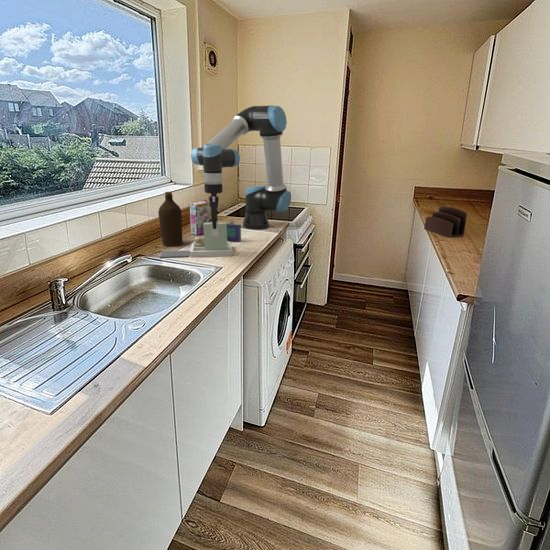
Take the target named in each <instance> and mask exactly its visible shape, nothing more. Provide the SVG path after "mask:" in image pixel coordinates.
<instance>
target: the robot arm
mask: <svg viewBox="0 0 550 550" xmlns="http://www.w3.org/2000/svg"><path fill="white" fill-rule="evenodd" d="M287 125H288V122H287V115H286V113H285V111H284V109H283V108H282V107H281V106H279V105H272V104H271V105H252V106H250V107H247V108H245V109H242V110H241V111H240V112H239V113H237V114H236V115H235V116H233V117H232V120H231V122H230V123H229V124H227V125H226V126H225V127H224V128H223V129H222V130H221V131H219V132H218V133H217V134H216V135H215V136H213V138H211V139H210V140H209V141H207V142H206V143H205V144H204V145H203V146H202V147H199V146H198V147H194V148H193V149H192V150H191V152H190V159H191V162H192V163H193V164H194V165H197V166H202V167H203V175H202V177H203V178H204V179H203V180H204V181H203V182H204V192H205V194H210V196H209V197H208V202H210V223H211V231H212V236H218V223H219V218H218V217H219V214H220V212H219V211H218V207H219V196H217V195H218V194H221V193H223V190H224V189H223V168H234V167H237V166H239V164H240V161H241V155H240V153H239V151H238V150H236V149H234V148H229V147H230V146H231V145H232V144H233V143H234V142H235V141H237V139H239V137H241V136H242V135H243V136H244V135H246V134H248V133H249V132H259V137H260V138H261V139H263V151H264V161H265V173H266V182H267V183H266V184H267V185H256V186H254V185H253V186H248V187H246V189H245V215H244V218H243V220H242V221H243V222H242V227H243V228H244V229H247V230H248V229H249V230H263V229H264V230H265V229H267V228H269V225H270V223H269V222H270V221H269V218H268V216H267V211H271V212H277V213H284V212H286V211H288V209H289V208H290V206H291V202H292V193H291V192H290V191H289V190H287V185H286V184H285V183H284V175H283V174H284V173H283V160H282V159H283V158H282V147H281V146H282V145H281V137H282V136H283V135H284V133H283V132H284V131H285V130H286V128H287Z"/></svg>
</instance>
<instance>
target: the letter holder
mask: <svg viewBox="0 0 550 550" xmlns="http://www.w3.org/2000/svg"><path fill="white" fill-rule="evenodd" d="M467 216H468V213H467V211H464V210H462V209H458V208H455V207H451V206H439V207H438V211H433V212H432V216H426V217H425V221H424V229H423V230H426V231H428V232H431V233H434V234H438V235H441V236H444V237H448V238H450V239H451V238H460V237H464V235H465V228H466V223H467V218H468V217H467Z"/></svg>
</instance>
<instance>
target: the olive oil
mask: <svg viewBox="0 0 550 550" xmlns="http://www.w3.org/2000/svg"><path fill="white" fill-rule="evenodd" d="M173 197H174V196H173V192H172V191H165V192H164V199H165V200H163V201H164V202H163V203H162V204H161V205H160V206H159V208H158V219H159V225H160V227H159V228H160V236H161V240H162V246H164V247H177V246H182V245H183V242H184V241H183V214H182V213H183V212H182V209H181V206H180V205H179V204H178V203H176V202H175V201H174V198H173Z"/></svg>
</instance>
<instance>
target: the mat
mask: <svg viewBox="0 0 550 550" xmlns="http://www.w3.org/2000/svg"><path fill="white" fill-rule="evenodd" d="M189 256H190V250H162V252H161V254H160V256H159V258H160V259H175V258H177V259H178V258H189Z"/></svg>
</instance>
